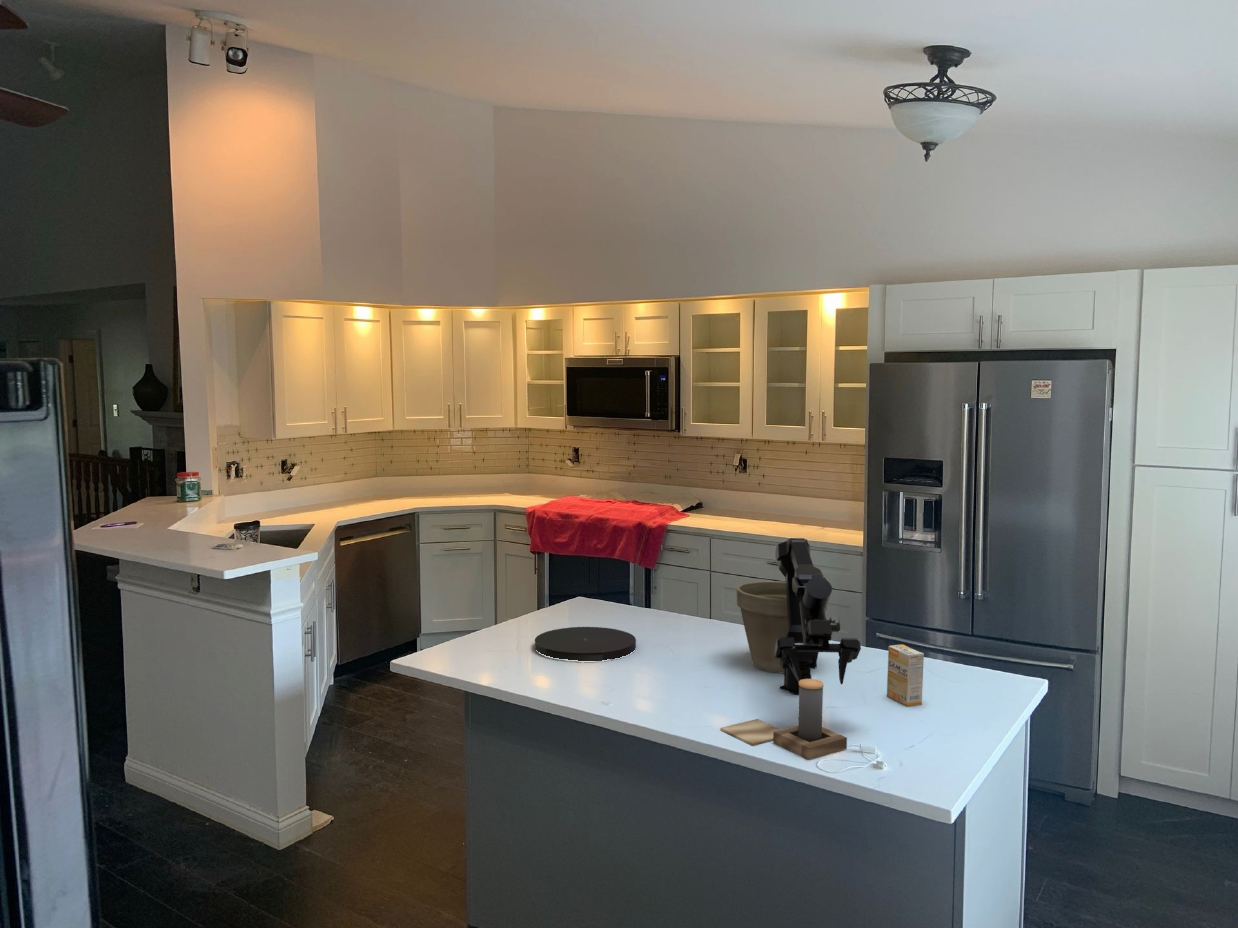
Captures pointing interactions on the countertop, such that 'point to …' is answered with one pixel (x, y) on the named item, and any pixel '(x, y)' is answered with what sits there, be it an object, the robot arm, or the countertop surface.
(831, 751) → the wooden square frame
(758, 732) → the cork mat
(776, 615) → the plant pot
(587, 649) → the disc
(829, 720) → the countertop surface
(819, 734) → the plug
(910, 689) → the supplement box
